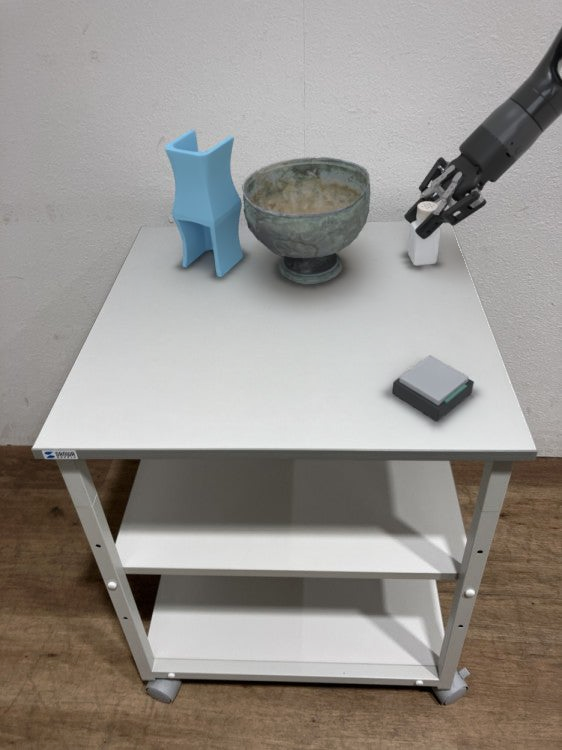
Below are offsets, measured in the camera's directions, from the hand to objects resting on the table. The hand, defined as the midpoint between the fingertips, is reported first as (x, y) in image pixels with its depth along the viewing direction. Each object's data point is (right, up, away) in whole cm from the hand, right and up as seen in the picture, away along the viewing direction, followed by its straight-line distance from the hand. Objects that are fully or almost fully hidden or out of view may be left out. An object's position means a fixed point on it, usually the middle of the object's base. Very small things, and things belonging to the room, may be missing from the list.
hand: (414, 227), depth 97 cm
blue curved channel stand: (-32, -4, +8) cm, 33 cm away
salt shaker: (+2, -4, +4) cm, 7 cm away
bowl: (-17, -6, +4) cm, 18 cm away
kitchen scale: (-2, -25, -19) cm, 32 cm away
